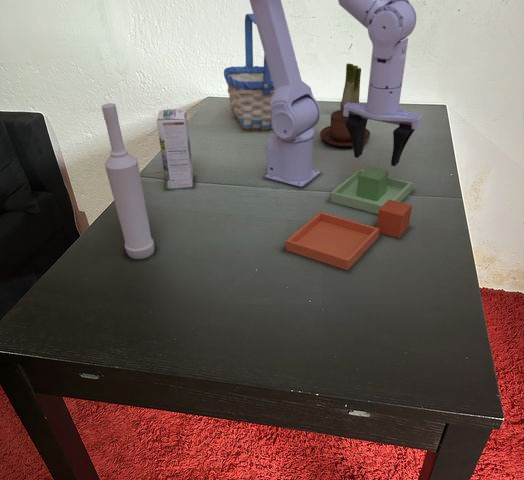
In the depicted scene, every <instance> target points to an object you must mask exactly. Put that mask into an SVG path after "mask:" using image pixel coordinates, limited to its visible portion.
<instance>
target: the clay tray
mask: <svg viewBox="0 0 524 480" xmlns="http://www.w3.org/2000/svg"><path fill="white" fill-rule="evenodd" d="M376 227H377V226H372V225H369V224H366V223H362V222H359V221H355V220H352V219H348V218H344V217H341V216H338V215H334V214H330V213H327V212H323V211H319V212H318V213H316V214H315V216H313V217H312V218H311V219H310V220H309V221H307V222H306V223H304V224H303V226H301V227H300V228H298V230H297V231H295V232H294V233H293V234H292V235H291V236H290V237H288V238H287V239H286V240H285V251H286V252H287V251H288V252H291V253H294V254H297V255H299V256H303V257H306V258H309V259H312V260H315V261H318V262H321V263H324V264H327V265H330V266H333V267H336V268H339V269H342V270H345V271H349V270H350V269H351V267H352V266H353V265H354V264H355V263H356V262H357V261H358V260H359V259H360V258H361V257H362V256H363V255H364V253H366V252H367V250H368V249H369V248H370V247H371V246H372V245H374V243H375V242H376V241H377V240H378V239H379V237H380V233H379V230H380V228H376Z"/></svg>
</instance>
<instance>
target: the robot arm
mask: <svg viewBox="0 0 524 480" xmlns="http://www.w3.org/2000/svg"><path fill="white" fill-rule="evenodd" d="M337 1H338V5H339V6H340V7H341V8H342V9H343V10H345V11H346V12H347V13H348V14H350V15H351V16H352V18H353V19H355V20H356V21H357V22H359V24H361V25H362V26H363V27H364V28H366V29H367V35H368V37H369V40H370V41H371V45H372V50H371V51H372V52H371V59H370V68H369V79H368V89H367V96H366V97H367V98H366V103H360V102H359V103H350V102H349V103H347V104H345V105H344V111H343V116H346V117H349V118H348V120H347V121H346V122H345V125H346V128H347V130H348V132H349V134H350V137H351V140H352V144H353V146H352V149H353V157H354V158H355V159H359V157H361V156H362V155H363V152H364V145H365V142H364V134H365V129H367V124H368V120H369V121H375V122H380V123H387V124H391V125H396V126H398V127H396V128H395V129H394V130H393V131H392V135H393V138H392V139H393V144H392V145H393V147H392V153H391V159H390V160H391V161H390V166H391V167H395V166H397V165H398V164H399V163H400V159H401V157H402V154H403V152H404V149H405V147H406V145H407V143H408V141H409V140H410V138H411V136H412V135H413V133H414V132H415V131H416V130H419V128H421V126H422V121H423V115H422V114H417V113H414V112H411V111H409V110H405V109H403V108H400V102H401V95H402V87H403V80H404V74H405V66H406V61H407V60H406V59H407V50H408V45H409V36H410V35H411V34H412V33H413V32H414V30H415V28H416V24H417V13H416V10H415V8H414V6H413V5H412V4H411V2H410V0H337ZM249 3H250V7H251V10H252V14H254V18H255V21H256V24H255V25H256V29H257V32H258V36H259V38H260V43H261V46H262V50H263V54H264V53H265V57H266V60H267V64H268V67H269V71H270V75H271V78H272V82H273V85H274V89H275V91H274V94H273V97H272V99H271V102H270V108H271V112H272V118H271V124H272V128H273V129H272V131H273V132H272V133H271V134H270V135H269V137H268V140H267V142H266V174H265V176H264V177H265V179H269V180H273V181H277V182H280V183H283V184H288V185H292V186H295V187H299V188H303V187H305V186H306V185H307V184H308V183H309V182H311V181H312V180H313V179H315V178H316V177H317V176H319V175H320V174H321V171H320V170H316V169H313V163H314V162H313V158H314V133H315V126H316V125H317V124H318V123H319V122H320V119H321V115H322V113H321V107H320V105H319V102H318V101H317V100H316V98H315V96H314V94H313V92H312V88H311V86H310V85H308V84H307V83H306V82H304V81H303V80H302V77H301V72H300V68H299V66H298V61H297V57H296V52H295V49H294V45H293V42H292V37H291V33H290V30H289V27H288V23H287V22H288V21H287V17H286V14H285V11H284V7H283V3H282V0H249Z"/></svg>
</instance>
